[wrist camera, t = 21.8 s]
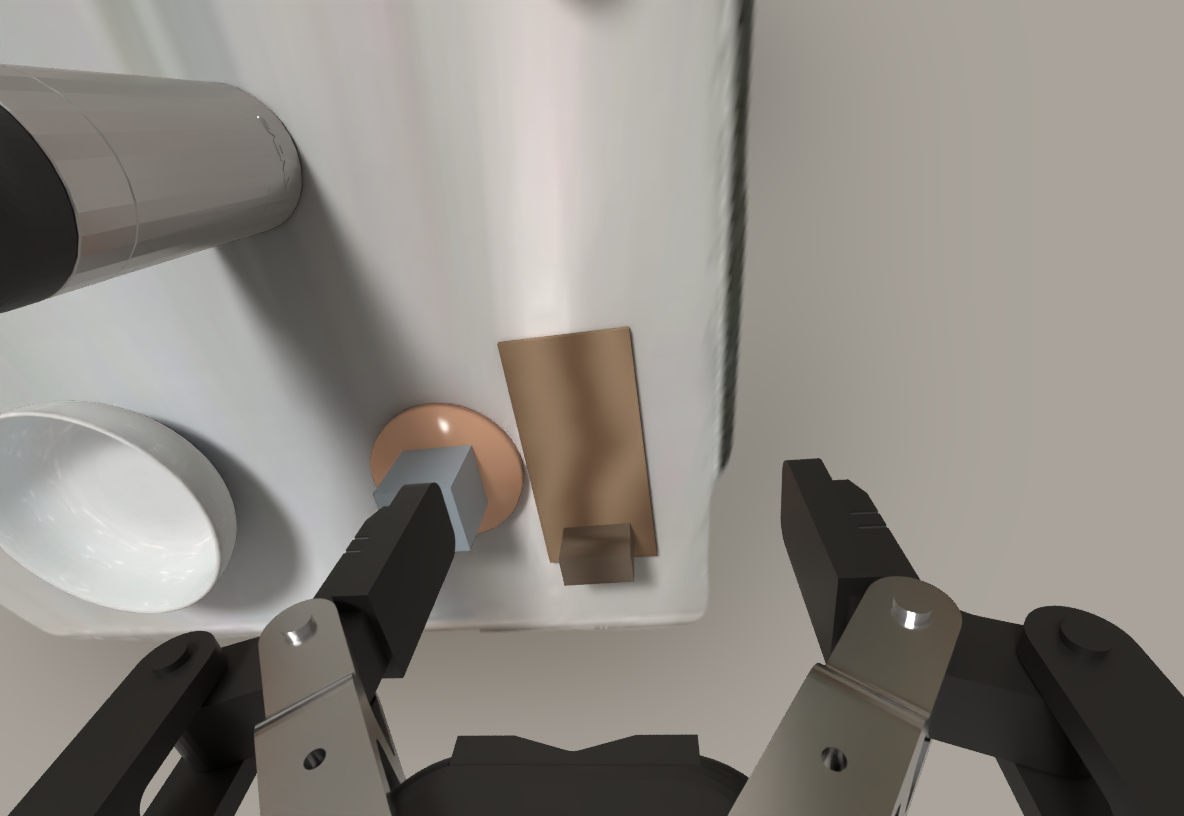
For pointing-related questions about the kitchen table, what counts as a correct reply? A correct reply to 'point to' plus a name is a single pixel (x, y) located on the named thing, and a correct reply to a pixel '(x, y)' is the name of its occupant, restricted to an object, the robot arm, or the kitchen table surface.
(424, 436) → the terracotta saucer
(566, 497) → the walnut strip
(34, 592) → the kitchen table surface
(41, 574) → the serving bowl
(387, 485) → the slate cube
